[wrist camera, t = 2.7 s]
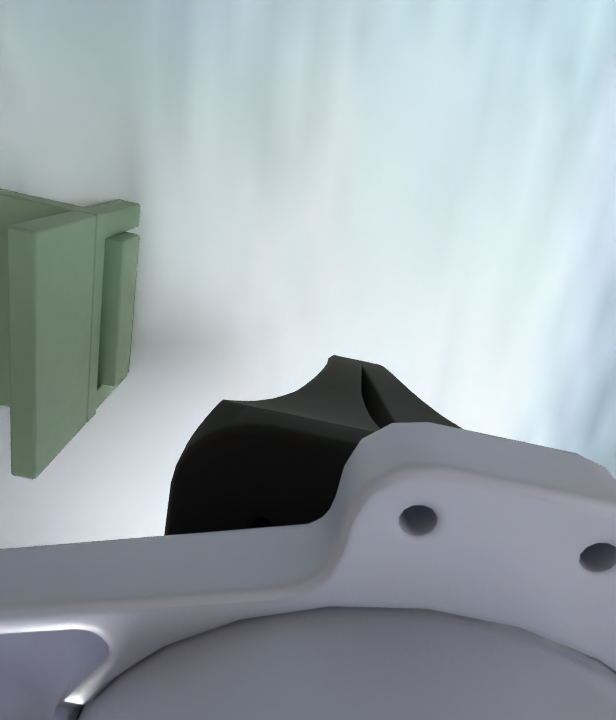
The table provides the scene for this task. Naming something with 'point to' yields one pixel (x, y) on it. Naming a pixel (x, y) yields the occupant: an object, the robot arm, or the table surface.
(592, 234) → the table surface
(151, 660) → the robot arm
